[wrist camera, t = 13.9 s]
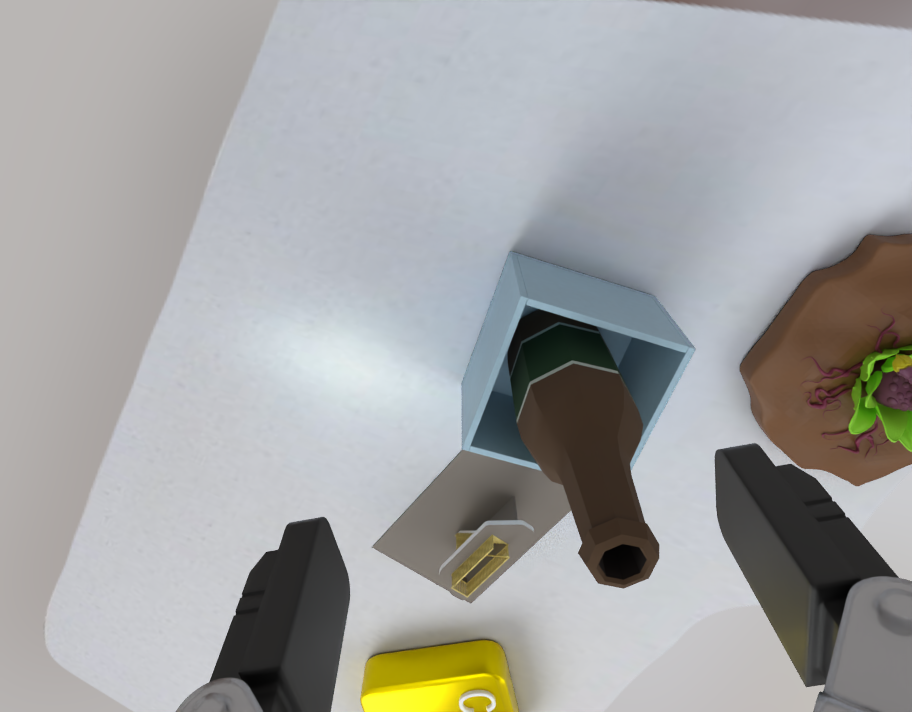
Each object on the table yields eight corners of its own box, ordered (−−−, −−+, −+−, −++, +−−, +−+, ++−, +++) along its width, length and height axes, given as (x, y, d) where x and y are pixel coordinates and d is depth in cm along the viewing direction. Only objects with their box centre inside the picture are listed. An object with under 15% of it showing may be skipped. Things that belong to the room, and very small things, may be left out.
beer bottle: (485, 353, 52) (504, 577, 30) (549, 279, 49) (619, 467, 27) (559, 403, 54) (626, 647, 32) (624, 335, 51) (745, 552, 29)
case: (461, 384, 54) (461, 449, 45) (509, 250, 48) (520, 295, 40) (594, 421, 55) (620, 492, 46) (655, 296, 50) (696, 348, 41)
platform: (372, 547, 61) (362, 601, 55) (490, 419, 55) (494, 464, 49) (470, 603, 64) (472, 660, 59) (593, 488, 58) (609, 539, 52)
